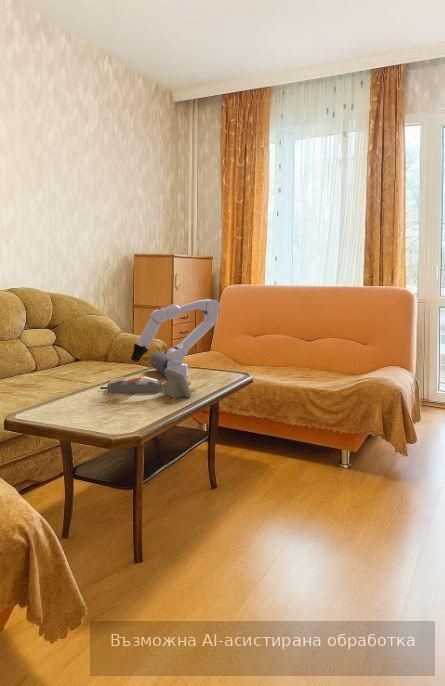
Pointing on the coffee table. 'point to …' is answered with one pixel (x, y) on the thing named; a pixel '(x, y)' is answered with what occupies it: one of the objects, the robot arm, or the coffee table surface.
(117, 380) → the rocker
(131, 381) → the plate
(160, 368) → the bluetooth speaker
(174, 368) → the robot arm
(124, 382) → the power strip
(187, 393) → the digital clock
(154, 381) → the block
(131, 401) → the coffee table surface
